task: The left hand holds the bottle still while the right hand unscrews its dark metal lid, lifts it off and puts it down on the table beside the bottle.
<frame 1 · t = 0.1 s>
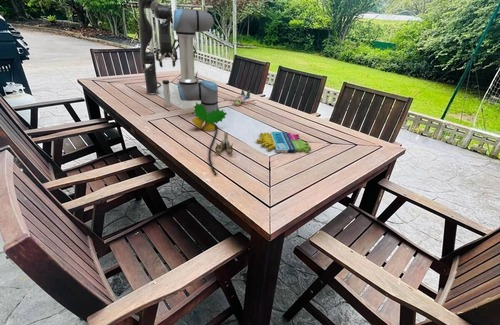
left hand: (167, 67, 181), 29 cm above the table, tool pointing down, fingers open, 8 cm apart
right hand: (184, 61, 211), 28 cm above the table, tool pointing down, fingers open, 13 cm apart
toy: (241, 101, 221), on the table
bottle: (167, 105, 199), on the table
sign: (281, 143, 152), on the table
jawbone: (224, 151, 138), on the table
ornament: (209, 128, 165), on the table
airplane: (192, 85, 258), on the table
lid: (165, 81, 190), point 18 cm above the table, screwed on, not yet turned
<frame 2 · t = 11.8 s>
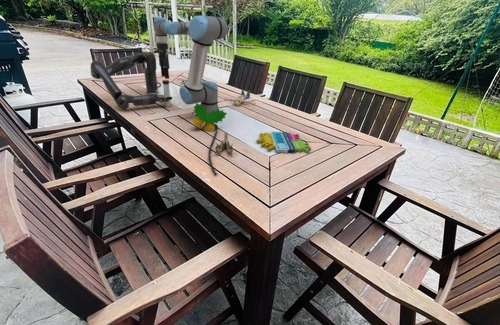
left hand: (170, 97, 198), 6 cm above the table, tool horizontal, fingers closed on bottle, 4 cm apart
right hand: (165, 77, 189), 21 cm above the table, tool pointing down, fingers open, 7 cm apart
bottle: (168, 105, 199), on the table, touching left hand
everything else where it was.
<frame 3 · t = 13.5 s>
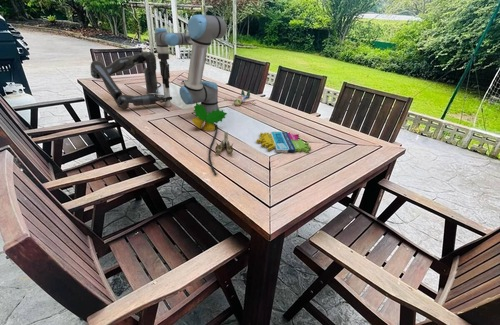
left hand: (170, 97, 198), 6 cm above the table, tool horizontal, fingers closed on bottle, 4 cm apart
right hand: (166, 86, 192), 14 cm above the table, tool pointing down, fingers closed on lid, 4 cm apart
bottle: (167, 105, 199), on the table, touching left hand
lid: (165, 81, 190), point 18 cm above the table, screwed on, not yet turned, touching right hand
everything else where it was.
when the right hand's fingers open (14 cm above the table, at t = 14.8 s): lid stays where it is, point 19 cm above the table.
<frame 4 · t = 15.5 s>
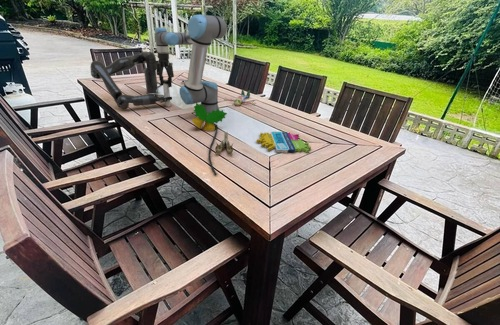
left hand: (170, 97, 198), 6 cm above the table, tool horizontal, fingers closed on bottle, 4 cm apart
right hand: (166, 86, 192), 15 cm above the table, tool pointing down, fingers open, 7 cm apart
bottle: (167, 105, 199), on the table, touching left hand
lid: (165, 80, 190), point 19 cm above the table, turned 98° so far, risen 0.2 cm, still on its thread
everything else where it was.
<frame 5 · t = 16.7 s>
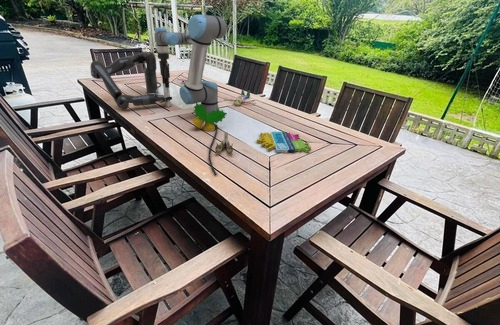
left hand: (170, 97, 198), 6 cm above the table, tool horizontal, fingers closed on bottle, 4 cm apart
right hand: (166, 86, 192), 14 cm above the table, tool pointing down, fingers closed on lid, 4 cm apart
bottle: (167, 105, 199), on the table, touching left hand
lid: (165, 80, 190), point 19 cm above the table, turned 98° so far, risen 0.2 cm, still on its thread, touching right hand
everything else where it was.
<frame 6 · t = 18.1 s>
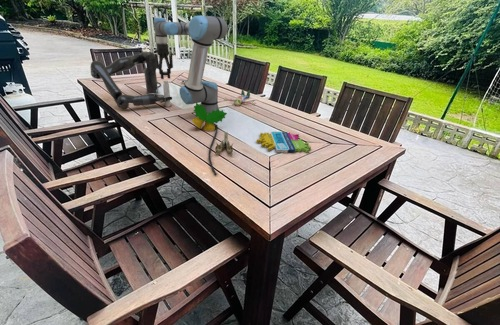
left hand: (170, 97, 198), 6 cm above the table, tool horizontal, fingers closed on bottle, 4 cm apart
right hand: (165, 78, 189), 20 cm above the table, tool pointing down, fingers closed on lid, 4 cm apart
bottle: (167, 105, 199), on the table, touching left hand
lid: (165, 72, 187), point 24 cm above the table, off its thread, touching right hand
everything else where it was.
when the right hand's fingers open (0 cm above the table, at t = 24.3 s): lid drops 3 cm, point 2 cm above the table.
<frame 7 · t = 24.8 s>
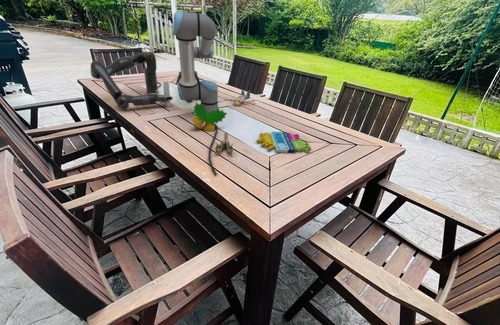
left hand: (170, 97, 198), 6 cm above the table, tool horizontal, fingers closed on bottle, 4 cm apart
right hand: (188, 92, 208), 7 cm above the table, tool pointing down, fingers open, 13 cm apart
bottle: (167, 105, 199), on the table, touching left hand
lid: (189, 99, 211), point 2 cm above the table, off its thread
everything else where it was.
when the left hand's fingers open (6 cm above the table, at t = 24.8 s): bottle stays where it is, on the table.
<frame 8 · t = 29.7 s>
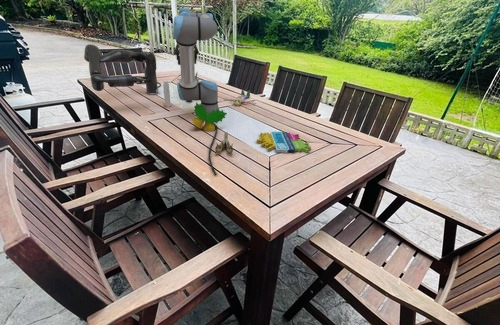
left hand: (149, 79, 184), 20 cm above the table, tool horizontal, fingers open, 8 cm apart
right hand: (187, 64, 198), 29 cm above the table, tool pointing down, fingers open, 13 cm apart
bottle: (167, 105, 199), on the table
everything else where it was.
at the end: lid came off its thread; lid point 1.6 cm above the table; the left hand is holding nothing; the right hand is holding nothing; bottle tilted 0°; bottle moved 0.0 cm from its start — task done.
